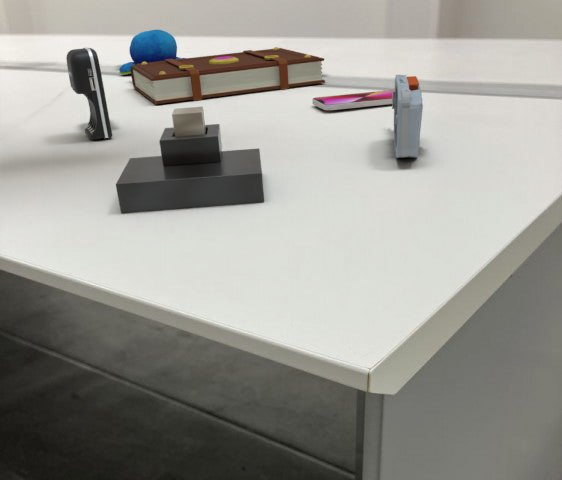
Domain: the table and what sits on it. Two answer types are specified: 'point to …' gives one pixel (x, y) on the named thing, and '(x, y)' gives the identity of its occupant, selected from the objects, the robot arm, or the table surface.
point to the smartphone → (354, 100)
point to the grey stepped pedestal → (191, 175)
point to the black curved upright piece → (90, 89)
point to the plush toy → (151, 48)
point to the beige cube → (188, 121)
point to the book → (225, 74)
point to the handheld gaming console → (407, 116)
